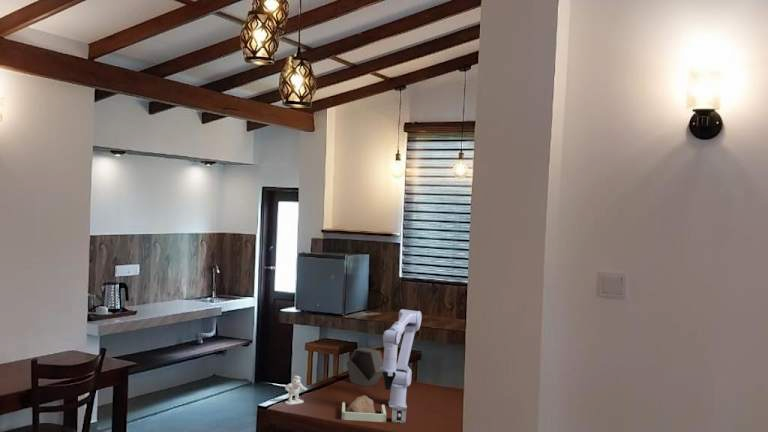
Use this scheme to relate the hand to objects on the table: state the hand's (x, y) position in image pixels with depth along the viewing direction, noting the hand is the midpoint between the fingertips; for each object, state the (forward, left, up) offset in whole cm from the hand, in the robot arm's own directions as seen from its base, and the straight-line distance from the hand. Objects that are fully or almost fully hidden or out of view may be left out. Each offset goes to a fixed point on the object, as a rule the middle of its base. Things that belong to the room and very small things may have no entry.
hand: (387, 389), depth 302 cm
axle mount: (+12, +5, -10) cm, 16 cm away
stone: (+7, -10, -11) cm, 17 cm away
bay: (+5, -10, -10) cm, 15 cm away
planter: (-53, -8, -11) cm, 55 cm away
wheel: (+11, +5, -10) cm, 15 cm away
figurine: (-8, -40, -11) cm, 42 cm away
